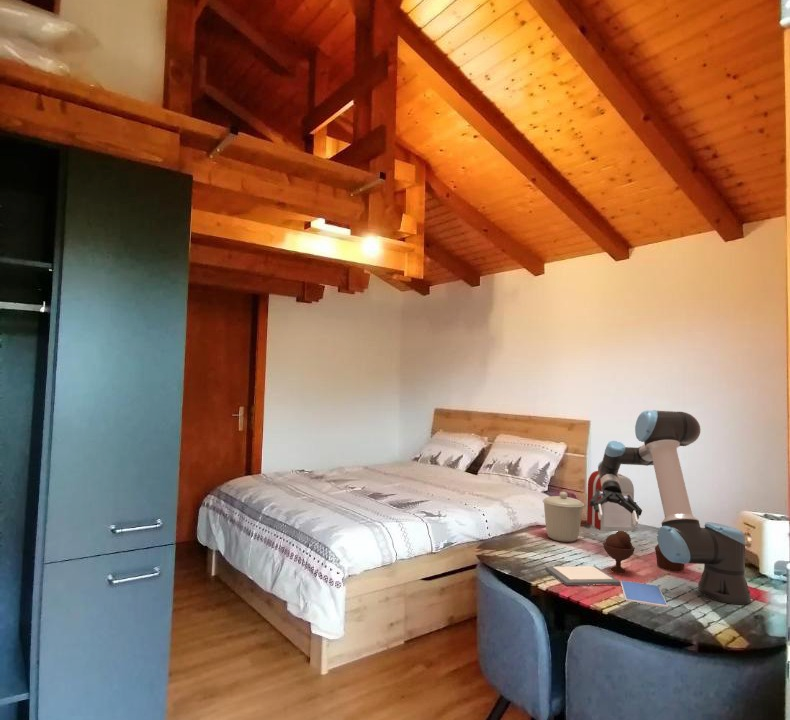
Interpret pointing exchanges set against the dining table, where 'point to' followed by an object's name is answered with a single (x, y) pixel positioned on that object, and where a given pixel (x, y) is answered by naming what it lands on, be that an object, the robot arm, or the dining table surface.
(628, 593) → the tablet computer
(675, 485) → the robot arm
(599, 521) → the striped arched panel rack
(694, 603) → the dining table surface
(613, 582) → the mat
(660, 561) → the muffin
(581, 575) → the sheet
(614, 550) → the ice cream bowl
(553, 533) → the canister
